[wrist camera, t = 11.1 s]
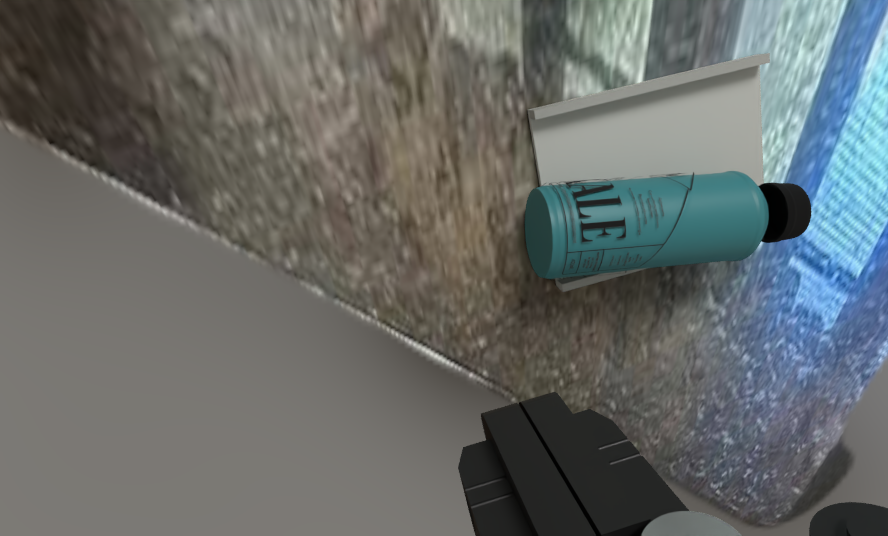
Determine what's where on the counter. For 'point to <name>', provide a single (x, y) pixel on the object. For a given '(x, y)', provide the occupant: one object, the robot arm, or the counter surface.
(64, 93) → the counter surface
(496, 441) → the robot arm
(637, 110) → the panel with raised edges
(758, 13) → the counter surface
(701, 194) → the beverage bottle
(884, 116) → the counter surface
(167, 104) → the counter surface
